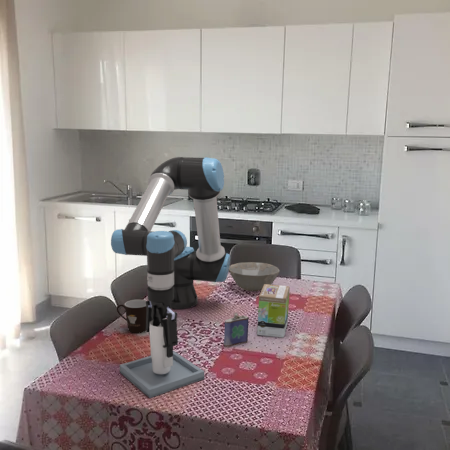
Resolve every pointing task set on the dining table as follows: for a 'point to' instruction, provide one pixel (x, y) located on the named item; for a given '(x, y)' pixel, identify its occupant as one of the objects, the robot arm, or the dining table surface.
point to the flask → (236, 330)
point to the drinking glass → (157, 348)
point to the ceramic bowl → (253, 275)
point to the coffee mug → (135, 315)
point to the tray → (161, 375)
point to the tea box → (273, 310)
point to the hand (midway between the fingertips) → (161, 361)
